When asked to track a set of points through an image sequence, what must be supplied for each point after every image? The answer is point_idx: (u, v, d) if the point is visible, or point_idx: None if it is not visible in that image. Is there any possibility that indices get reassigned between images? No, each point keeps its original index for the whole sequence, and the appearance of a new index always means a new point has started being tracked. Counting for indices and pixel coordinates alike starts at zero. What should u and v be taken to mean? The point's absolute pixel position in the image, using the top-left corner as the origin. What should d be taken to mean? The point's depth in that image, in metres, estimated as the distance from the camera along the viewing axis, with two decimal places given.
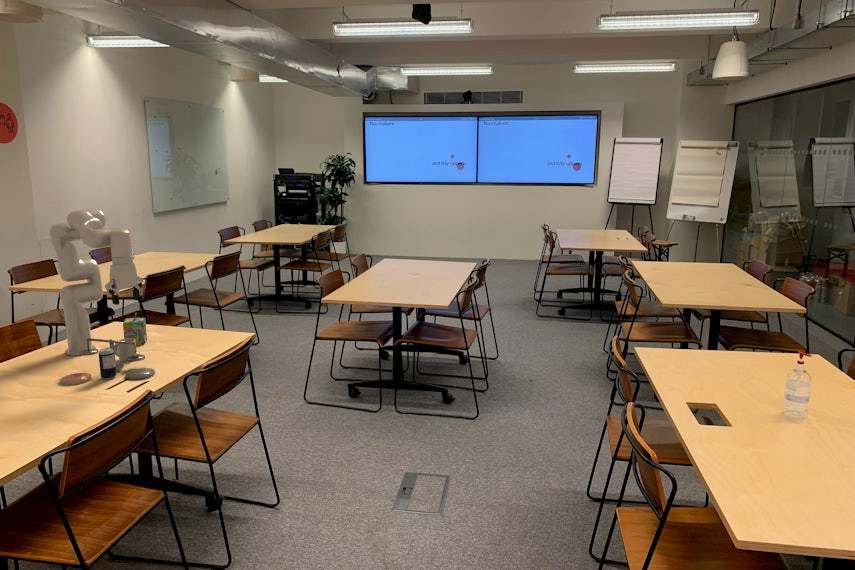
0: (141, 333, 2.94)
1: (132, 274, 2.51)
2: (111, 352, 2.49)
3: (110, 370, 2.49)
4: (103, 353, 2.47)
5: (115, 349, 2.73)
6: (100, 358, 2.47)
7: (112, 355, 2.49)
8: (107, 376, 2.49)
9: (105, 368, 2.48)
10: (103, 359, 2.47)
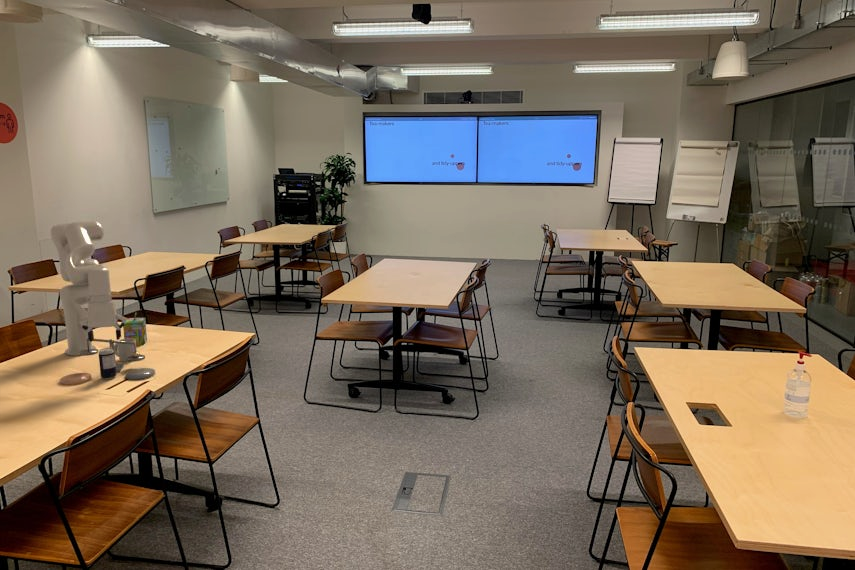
0: (141, 333, 2.94)
1: None
2: (111, 352, 2.49)
3: (110, 370, 2.49)
4: (103, 353, 2.47)
5: (115, 349, 2.73)
6: (100, 358, 2.47)
7: (112, 355, 2.49)
8: (107, 376, 2.49)
9: (105, 368, 2.48)
10: (103, 359, 2.47)
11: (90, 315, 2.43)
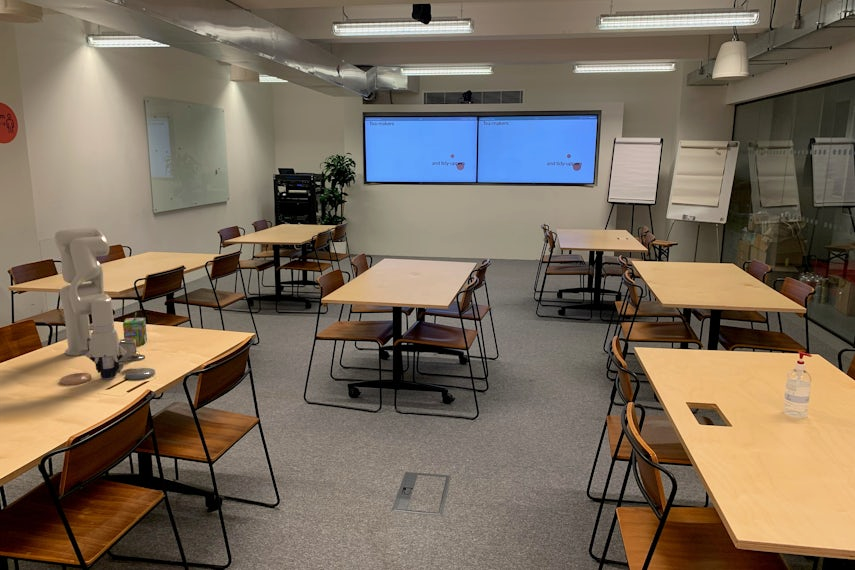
0: (141, 333, 2.94)
1: None
2: None
3: (110, 370, 2.49)
4: None
5: None
6: (100, 358, 2.47)
7: None
8: (107, 376, 2.49)
9: (105, 368, 2.48)
10: (103, 359, 2.47)
11: (93, 345, 2.45)
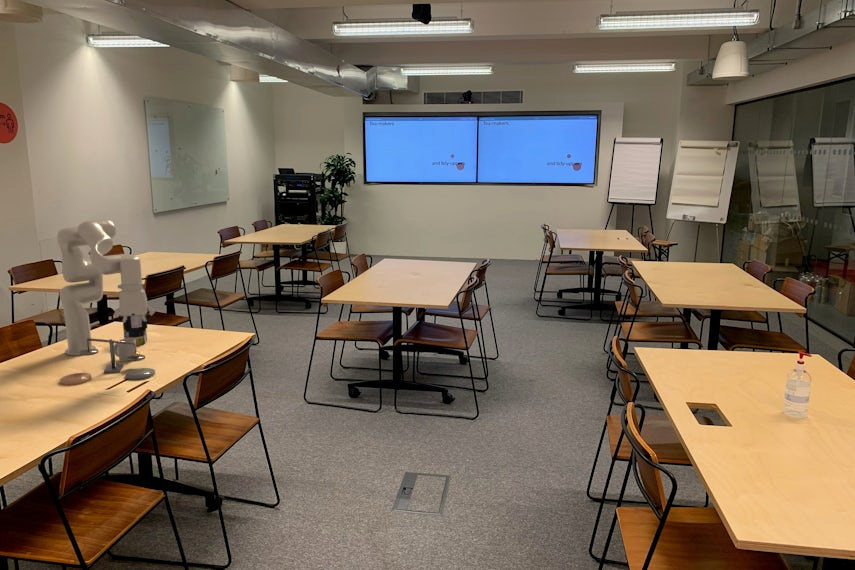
0: None
1: None
2: None
3: (138, 329, 2.49)
4: None
5: (115, 349, 2.73)
6: (128, 317, 2.47)
7: None
8: (135, 335, 2.49)
9: (133, 327, 2.48)
10: (131, 317, 2.47)
11: (122, 304, 2.45)
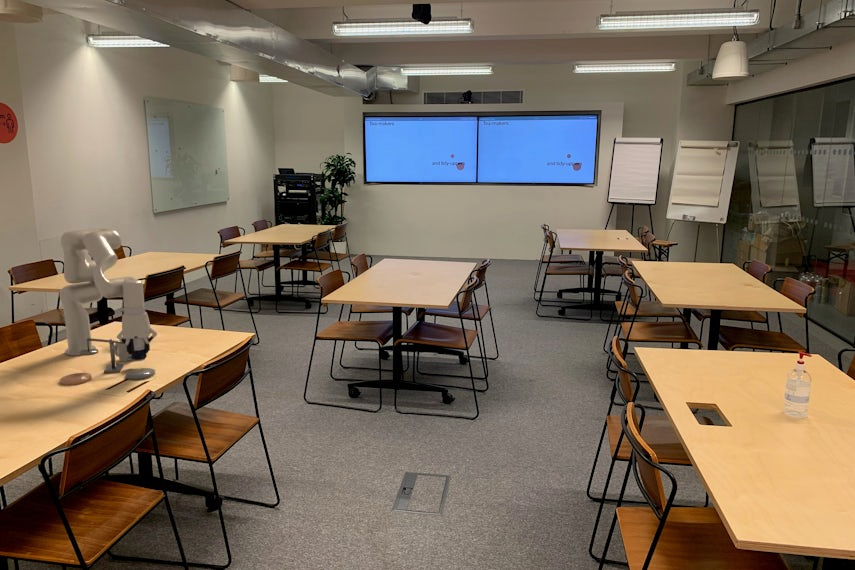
0: None
1: None
2: None
3: (141, 352, 2.51)
4: None
5: (115, 349, 2.73)
6: (131, 340, 2.49)
7: None
8: (138, 357, 2.51)
9: (136, 350, 2.50)
10: (134, 340, 2.49)
11: (124, 327, 2.47)
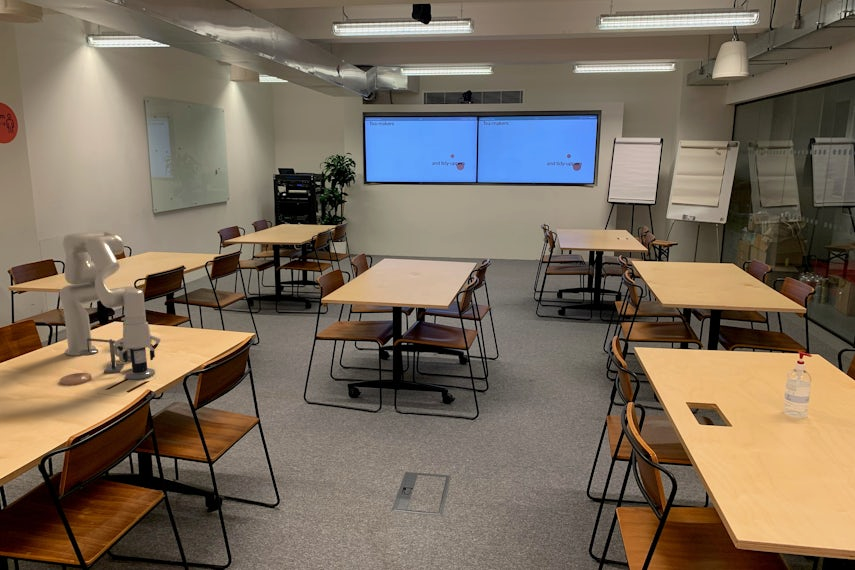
0: None
1: None
2: None
3: (141, 365, 2.52)
4: (135, 348, 2.50)
5: (115, 349, 2.73)
6: (132, 353, 2.50)
7: (143, 350, 2.52)
8: (139, 370, 2.52)
9: (137, 363, 2.51)
10: (134, 353, 2.50)
11: (125, 336, 2.48)
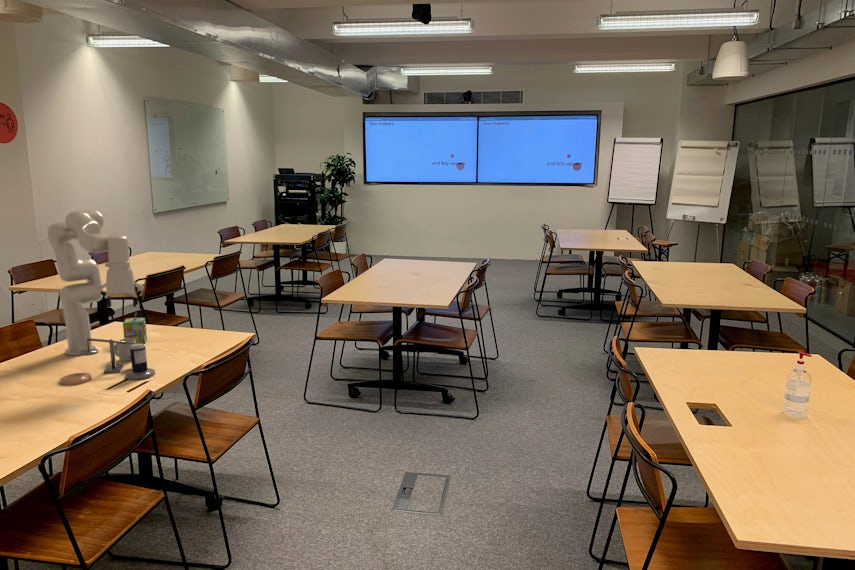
0: (141, 333, 2.94)
1: None
2: (142, 347, 2.52)
3: (141, 365, 2.52)
4: (135, 348, 2.50)
5: (115, 349, 2.73)
6: (132, 353, 2.50)
7: (143, 350, 2.52)
8: (139, 370, 2.52)
9: (137, 363, 2.51)
10: (134, 353, 2.50)
11: (109, 282, 2.49)
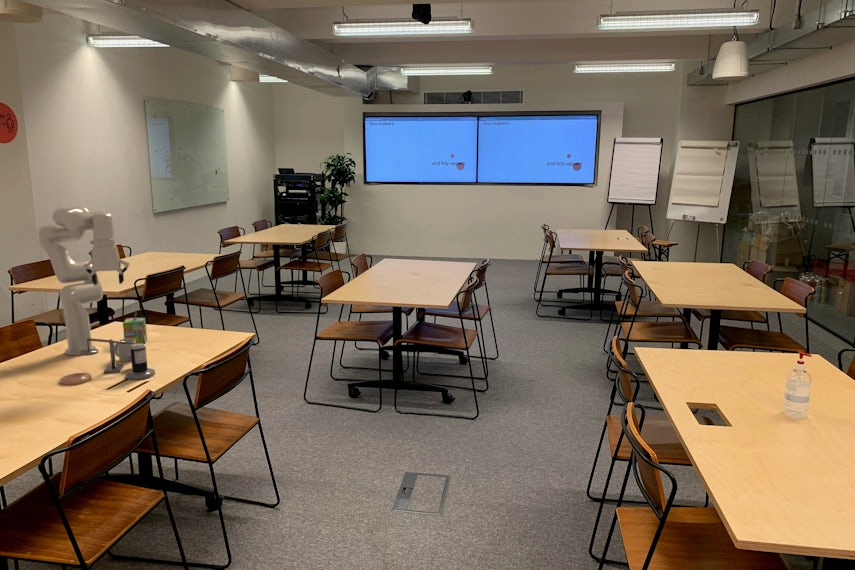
0: (141, 333, 2.94)
1: None
2: (143, 347, 2.52)
3: (142, 365, 2.52)
4: (135, 348, 2.50)
5: (115, 349, 2.73)
6: (132, 353, 2.50)
7: (144, 350, 2.52)
8: (139, 370, 2.52)
9: (137, 363, 2.51)
10: (135, 353, 2.50)
11: (94, 259, 2.53)
